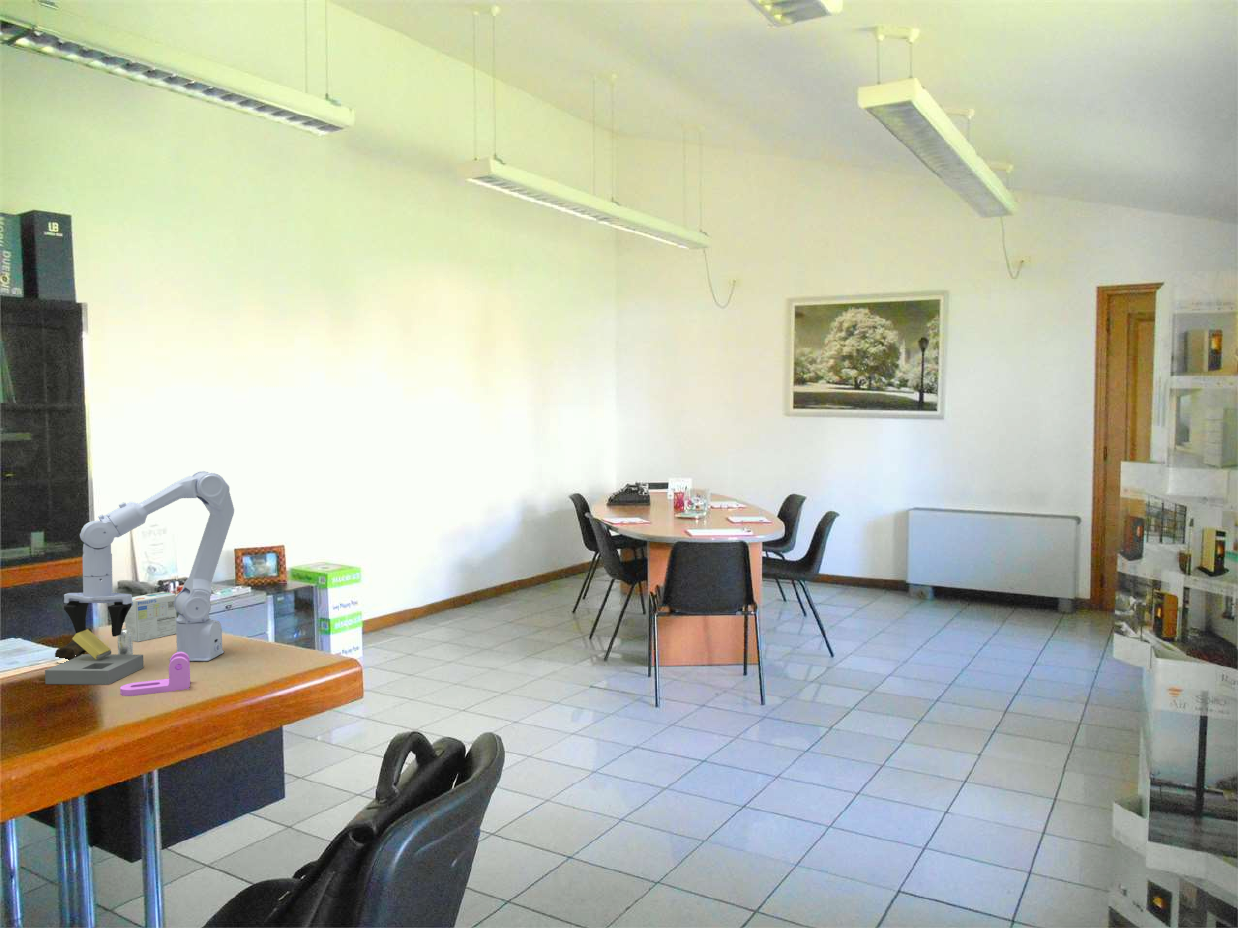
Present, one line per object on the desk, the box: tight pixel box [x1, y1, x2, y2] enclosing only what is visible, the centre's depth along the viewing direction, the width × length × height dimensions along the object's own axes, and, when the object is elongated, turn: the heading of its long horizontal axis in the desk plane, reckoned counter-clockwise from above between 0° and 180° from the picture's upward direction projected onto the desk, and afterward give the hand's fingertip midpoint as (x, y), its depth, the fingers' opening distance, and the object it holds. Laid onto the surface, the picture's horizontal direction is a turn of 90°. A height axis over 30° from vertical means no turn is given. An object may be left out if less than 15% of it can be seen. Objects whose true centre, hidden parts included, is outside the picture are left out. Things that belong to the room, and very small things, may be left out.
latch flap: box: [71, 628, 112, 659], centre depth 204 cm, size 8×4×2 cm
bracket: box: [119, 651, 191, 697], centre depth 190 cm, size 13×6×7 cm, turn 113°
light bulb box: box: [124, 591, 178, 643], centre depth 236 cm, size 11×7×11 cm, turn 144°
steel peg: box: [117, 627, 134, 655], centre depth 210 cm, size 3×3×8 cm
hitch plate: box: [44, 653, 145, 686], centre depth 201 cm, size 14×13×3 cm
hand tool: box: [54, 627, 93, 660], centre depth 220 cm, size 19×4×5 cm, turn 11°
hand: (98, 634), depth 203 cm, fingers open, 7 cm apart
